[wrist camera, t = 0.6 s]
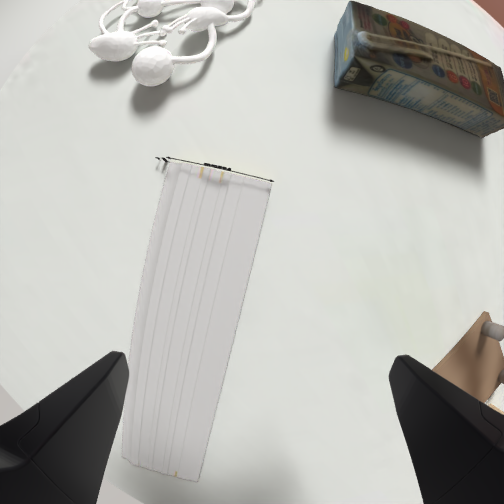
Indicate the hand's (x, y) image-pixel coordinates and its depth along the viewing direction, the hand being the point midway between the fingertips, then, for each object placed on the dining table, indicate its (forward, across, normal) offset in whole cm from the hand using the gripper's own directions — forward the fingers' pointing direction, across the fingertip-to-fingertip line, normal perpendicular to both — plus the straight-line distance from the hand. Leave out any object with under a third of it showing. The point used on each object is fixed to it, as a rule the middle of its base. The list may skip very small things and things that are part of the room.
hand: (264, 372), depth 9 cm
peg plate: (+11, -25, +15) cm, 31 cm away
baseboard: (+14, +6, +10) cm, 18 cm away
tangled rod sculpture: (+24, +9, -20) cm, 33 cm away
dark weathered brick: (+22, -16, -15) cm, 31 cm away
